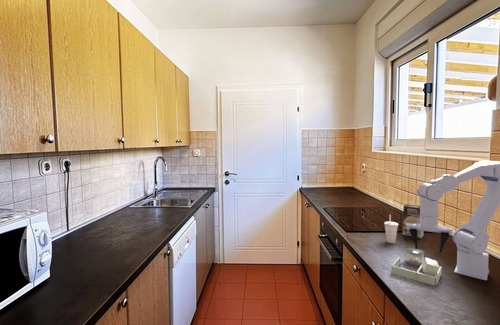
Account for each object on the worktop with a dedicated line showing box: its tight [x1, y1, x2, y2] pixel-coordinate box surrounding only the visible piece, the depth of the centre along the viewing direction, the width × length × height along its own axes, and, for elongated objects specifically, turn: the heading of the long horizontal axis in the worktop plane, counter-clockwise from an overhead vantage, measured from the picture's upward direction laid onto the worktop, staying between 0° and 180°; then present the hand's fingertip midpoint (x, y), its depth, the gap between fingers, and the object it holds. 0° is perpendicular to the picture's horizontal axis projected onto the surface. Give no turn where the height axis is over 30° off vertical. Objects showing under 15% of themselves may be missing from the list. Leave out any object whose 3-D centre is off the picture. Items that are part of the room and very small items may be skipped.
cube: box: [422, 257, 441, 276], centre depth 101 cm, size 4×4×4 cm
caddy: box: [390, 256, 442, 287], centre depth 105 cm, size 14×11×3 cm
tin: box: [405, 248, 425, 267], centre depth 114 cm, size 7×7×5 cm
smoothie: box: [383, 214, 399, 244], centre depth 138 cm, size 6×6×14 cm
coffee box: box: [402, 203, 425, 239], centre depth 147 cm, size 9×6×16 cm
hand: (428, 249), depth 104 cm, fingers open, 7 cm apart
